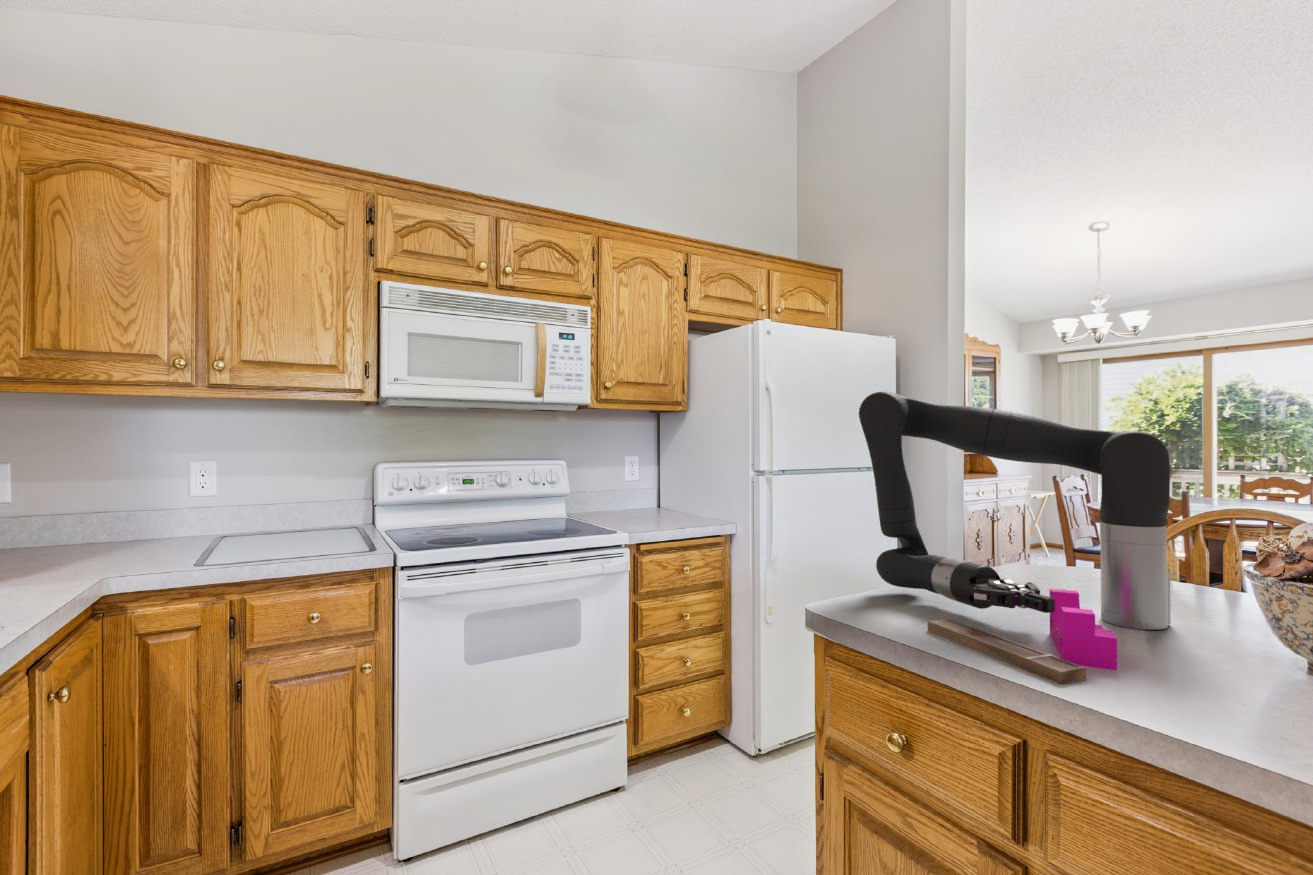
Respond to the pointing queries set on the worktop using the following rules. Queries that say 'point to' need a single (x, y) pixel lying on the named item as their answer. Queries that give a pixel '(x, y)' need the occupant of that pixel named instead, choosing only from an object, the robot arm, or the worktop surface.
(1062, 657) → the toy block
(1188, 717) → the worktop surface
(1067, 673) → the walnut plank
